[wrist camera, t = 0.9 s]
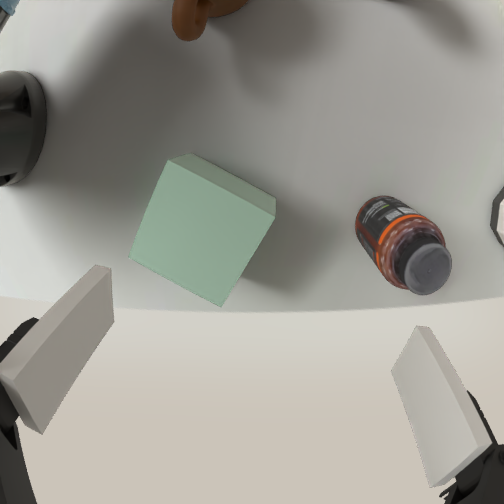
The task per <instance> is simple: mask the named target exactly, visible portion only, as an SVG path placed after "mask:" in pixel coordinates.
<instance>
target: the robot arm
mask: <svg viewBox="0 0 504 504" xmlns="http://www.w3.org/2000/svg"><path fill="white" fill-rule="evenodd" d="M19 1H20V0H0V33H1V31H2V29H3V27H4V26H5V24H6V22H7V21H8V19H9V17H10V16H13V14H14V13H15V8H16V6H17V4H18V3H19ZM45 130H46V104H45V98H44V94H43V91H42V89H41V86H40V84H39V83H38V81H37V80H36V79H35V77H34V76H32V75H31V74H29V73H27V72H24V71H5V72H2V73H0V187H2V186H7V185H10V184H13V183H16V182H18V181H20V180H22V179H23V178H24V177H26V176H27V175H28V173H29V172H30V171H31V170H32V168H33V167H34V165H35V163H36V161H37V159H38V157H39V154H40V152H41V148H42V145H43V141H44V136H45ZM113 323H114V313H113V299H112V280H111V269H110V268H106V267H102V266H98V265H95V266H94V267H93V268H92V269H90V270H89V271H88V272H87V273H86V274H85V275H84V276H83V277H82V278H81V279H80V280H79V281H78V282H77V283H76V284H75V285H74V286H73V287H71V288H70V289H69V290H68V291H67V292H66V293H65V294H64V295H63V296H62V297H61V298H60V299H59V300H58V301H57V302H56V303H55V304H54V305H53V306H52V307H51V309H49V310H48V311H47V312H46V314H45V315H44V316H43V317H42V318H41V319H40V320H39V319H37V318H34V317H33V318H31V319H29V320H27V321H25V322H24V323H22V324H21V325H20V326H19V327H18V328H17V329H16V330H15V331H14V333H13V334H11V335H10V336H9V337H8V339H7V341H5V342H4V343H3V344H2V345H1V346H0V504H37V502H36V499H35V496H34V493H33V490H32V487H31V483H30V480H29V476H28V472H27V469H26V465H25V461H24V457H23V452H22V448H21V443H20V438H19V433H18V427H17V425H16V422H15V421H16V419H17V418H18V416H20V418H21V419H22V421H23V423H24V424H25V425H26V426H27V427H29V428H31V429H33V430H35V431H36V432H39V433H40V434H43V433H44V431H45V429H46V427H47V426H48V424H49V422H50V421H51V419H52V417H53V416H54V414H55V412H56V411H57V409H58V407H59V406H60V404H61V402H62V401H63V399H64V397H65V396H66V394H67V392H68V391H69V389H70V388H71V386H72V384H73V383H74V381H75V380H76V378H77V377H78V375H79V373H80V372H81V370H82V369H83V367H84V366H85V364H86V363H87V361H88V360H89V358H90V357H91V355H92V353H93V352H94V351H95V349H96V348H97V346H98V345H99V343H100V342H101V340H102V339H103V337H104V336H105V335H106V333H107V332H108V330H109V329H110V327H111V326H112V324H113ZM391 372H392V375H393V377H394V380H395V383H396V385H397V388H398V391H399V393H400V396H401V399H402V402H403V404H404V407H405V410H406V413H407V416H408V419H409V422H410V425H411V428H412V431H413V433H414V437H415V440H416V443H417V446H418V449H419V453H420V456H421V459H422V462H423V466H424V469H425V473H426V476H427V480H428V483H429V487H430V488H432V487H436V486H440V485H444V484H446V483H447V482H448V481H450V480H451V479H452V478H454V477H455V478H456V481H457V482H455V483H454V484H453V485H451V486H450V487H449V488H447V489H446V490H445V491H443V492H442V493H441V494H440V496H439V497H442V496H444V495H445V494H447V493H448V492H449V494H448V496H446V497H445V498H444V499H445V500H446V501H445V503H444V504H504V444H502V445H498V443H497V441H496V439H495V437H494V435H493V433H492V431H491V429H490V426H489V425H488V422H487V420H486V418H484V414H483V412H482V411H481V410H480V407H479V405H478V403H477V401H476V399H475V398H474V397H473V396H472V395H471V394H470V392H469V391H466V389H465V387H464V385H463V384H462V382H461V380H460V378H459V376H458V375H457V373H456V371H455V369H454V368H453V366H452V364H451V362H450V361H449V359H448V357H447V356H446V354H445V352H444V351H443V349H442V347H441V346H440V344H439V342H438V341H437V339H436V338H435V336H434V334H433V333H432V331H431V329H430V328H429V327H423V326H416V327H415V329H414V331H413V333H412V335H411V337H410V339H409V340H408V342H407V344H406V346H405V348H404V349H403V351H402V353H401V355H400V356H399V358H398V360H397V362H396V363H395V365H394V366H393V368H392V370H391Z"/></svg>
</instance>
